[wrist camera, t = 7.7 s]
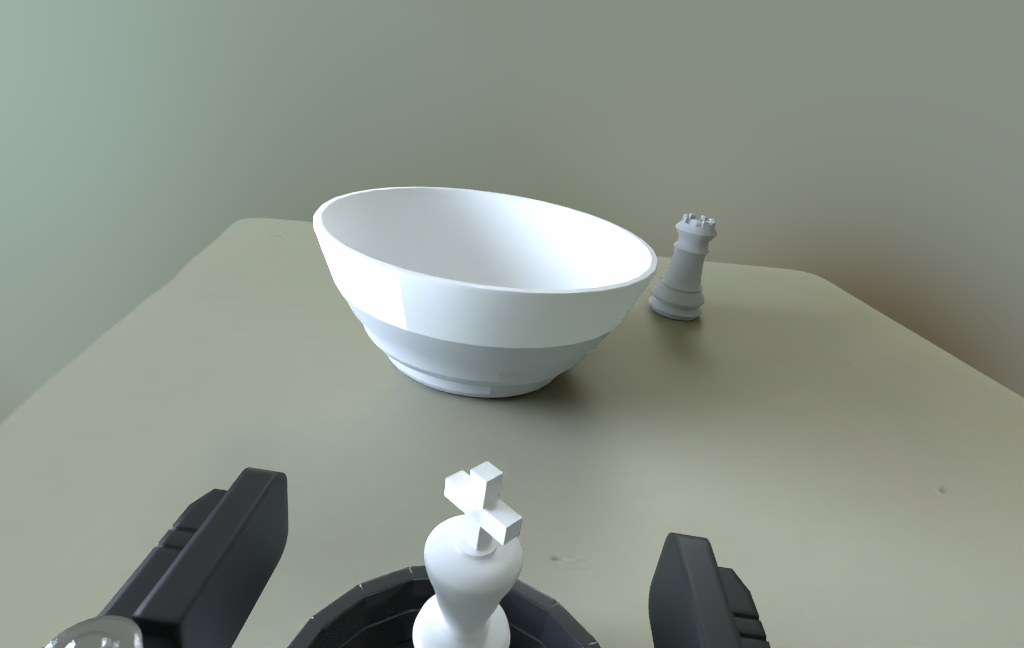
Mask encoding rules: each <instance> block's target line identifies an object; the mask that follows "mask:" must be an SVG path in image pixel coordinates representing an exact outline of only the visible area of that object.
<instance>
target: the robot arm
mask: <svg viewBox="0 0 1024 648" xmlns="http://www.w3.org/2000/svg"><path fill="white" fill-rule="evenodd" d="M287 535H288V499H287V477H286V475H285V473H281V472H275V471H269V470H262V469H256V468H250V467H249V468H246V469H245V470H243V472H242V473H241V474H240V475H239V477H238V478H237V479H236V480H235V482H234V483H233V484H232V486H231V487H230V488H229V490H228V491H226V490H219V489H213V490H212V491H210V492H209V493H207V494H206V495H204V496H202V497H201V498H199V499H198V500H196V501H195V502H193V503H192V504H190V505H189V506H188V507H187V509H186V510H185V511H184V512H183V514H182V515H181V516H180V517H179V518H178V520H177V521H176V522H175V523H174V524H173V527H172V529H171V530H170V529H169V530H168V532H167V533H166V534H165V535H164V537H163V538H162V539H161V540H160V541H159V544H158V546H157V547H154V549H153V550H152V551H151V552H150V554H149V555H148V556H147V557H146V558H145V560H144V561H143V562H142V563H141V564H140V566H139V567H138V568H137V569H136V570H135V572H134V573H133V574H132V575H131V577H130V578H129V579H128V580H127V581H126V583H125V584H124V585H123V586H122V587H121V589H120V590H119V591H118V592H117V594H116V595H115V596H114V597H113V598H112V600H111V601H110V602H109V603H108V604H107V606H106V607H105V608H104V609H103V611H102V612H101V613H100V614H99V615H98V616H97V617H95V618H92V619H88V620H85V621H83V622H80V623H78V624H76V625H74V626H72V627H70V628H68V629H67V630H65V631H63V632H62V633H60V634H59V635H58V636H57V637H55V638H54V639H53V640H52V641H51V642H50V643H49V644H47V645H46V647H43V648H231V647H232V645H233V643H234V642H235V640H236V638H237V636H238V634H239V633H240V631H241V629H242V627H243V625H244V624H245V622H246V620H247V618H248V616H249V615H250V613H251V611H252V609H253V607H254V606H255V604H256V602H257V600H258V598H259V596H260V595H261V593H262V591H263V589H264V587H265V586H266V584H267V582H268V580H269V578H270V577H271V575H272V573H273V571H274V569H275V568H276V566H277V564H278V562H279V560H280V558H281V556H282V553H283V551H284V548H285V544H286V540H287ZM649 619H650V624H651V630H652V636H653V642H654V648H770V645H769V642H767V641H766V634H765V631H764V628H763V626H762V623H761V621H759V615H758V612H757V609H756V607H755V604H754V601H753V599H752V596H751V593H750V591H749V590H748V589H747V587H746V586H745V585H744V583H743V582H742V581H741V580H740V578H739V577H738V576H737V575H736V573H735V572H734V571H733V569H730V568H723V567H718V566H717V562H716V559H715V556H714V553H713V550H712V547H711V544H710V542H709V540H708V539H707V538H703V537H696V536H690V535H684V534H677V533H669V534H668V536H667V538H666V540H665V543H664V546H663V549H662V552H661V555H660V558H659V561H658V565H657V568H656V571H655V574H654V577H653V580H652V583H651V586H650V592H649Z"/></svg>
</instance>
